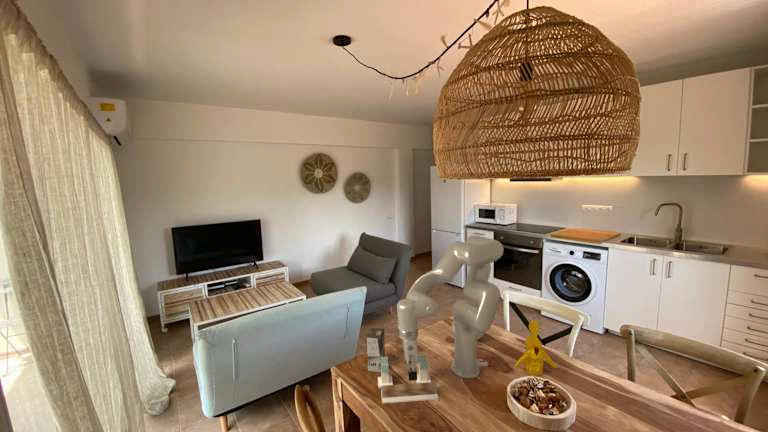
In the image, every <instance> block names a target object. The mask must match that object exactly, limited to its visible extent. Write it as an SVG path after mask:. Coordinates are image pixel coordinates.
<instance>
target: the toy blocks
mask: <svg viewBox="0 0 768 432" xmlns="http://www.w3.org/2000/svg"><path fill="white" fill-rule="evenodd" d="M418 358H419V363H418V373H417V380H415V383H427V382H432V380H431V377H430V374H429V373H428V366H429V365H428V361H427V360H426V354H418Z"/></svg>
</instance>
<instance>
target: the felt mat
mask: <svg viewBox="0 0 768 432" xmlns="http://www.w3.org/2000/svg"><path fill="white" fill-rule="evenodd" d="M380 394H381V396H380V397H381V404H395V403H406V402H407V403H409V402H420V401H432V400H433V401H434V400H437V401H438V400H440V399H439V398H440V397H439V395H438V393H437V394H430V395H416V396H403V397H389V398H382V388H380Z"/></svg>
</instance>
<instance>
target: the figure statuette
mask: <svg viewBox="0 0 768 432" xmlns="http://www.w3.org/2000/svg"><path fill="white" fill-rule="evenodd" d="M528 329H529V330H528V331H529V332H530V333H529V334H530V335H529V336H528V337H527V338H526V339H525V342H524V345H525V346H524V347H525V352H524V353H523V355H522V356H521V357H519V359H518V360H517V361H516V362H515V364H514V367H515V368H517V367H519V366H520V365H521V364H523V367H524V368H525V369H526V371H527V373H528V375H531V376H541V375H543V374H544V371H543V369H544V361H546V363H548V364H549V365H550V366H551V367H552V368H553V369H558V368H559V367H558V365H557V364H556V363H555V362H554V361H553V360H552V358H551V357H550V356H549V355H548V354H547V353H546V352H545V350H543V343H542V342H541V340H540V338H538V334H539V332H540V326H539V323H538V321H537V320H536V319H534V320H532V319H531V320H530V321H529V323H528Z"/></svg>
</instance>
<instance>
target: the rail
mask: <svg viewBox="0 0 768 432" xmlns="http://www.w3.org/2000/svg"><path fill="white" fill-rule="evenodd" d="M381 389H382V397H381V399H382V398H389V397H403V396H416V395H430V394H437V395H438V387H437V383H436V381H431V382H427V383H416V382H415V383H401V384H393V385H385V386H382V388H381Z"/></svg>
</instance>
